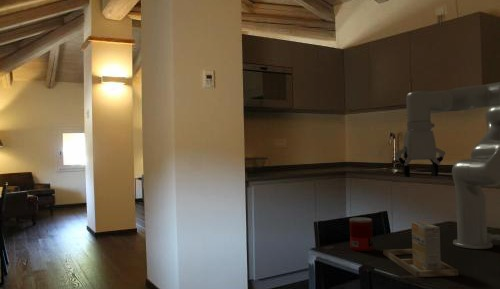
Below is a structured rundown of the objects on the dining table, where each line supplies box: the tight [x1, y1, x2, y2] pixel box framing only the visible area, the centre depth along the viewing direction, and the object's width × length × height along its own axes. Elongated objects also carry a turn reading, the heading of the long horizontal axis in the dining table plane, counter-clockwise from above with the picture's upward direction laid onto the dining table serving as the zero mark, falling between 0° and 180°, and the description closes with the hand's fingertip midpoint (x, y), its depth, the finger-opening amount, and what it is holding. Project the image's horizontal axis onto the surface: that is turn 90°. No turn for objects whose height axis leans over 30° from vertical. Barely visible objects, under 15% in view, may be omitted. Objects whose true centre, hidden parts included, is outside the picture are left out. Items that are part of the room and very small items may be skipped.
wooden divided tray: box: [382, 248, 459, 278], centre depth 123 cm, size 12×25×2 cm, turn 2°
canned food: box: [349, 216, 374, 252], centre depth 143 cm, size 8×8×11 cm
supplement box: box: [411, 221, 442, 270], centre depth 117 cm, size 8×5×13 cm, turn 4°
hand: (420, 176), depth 136 cm, fingers open, 9 cm apart
